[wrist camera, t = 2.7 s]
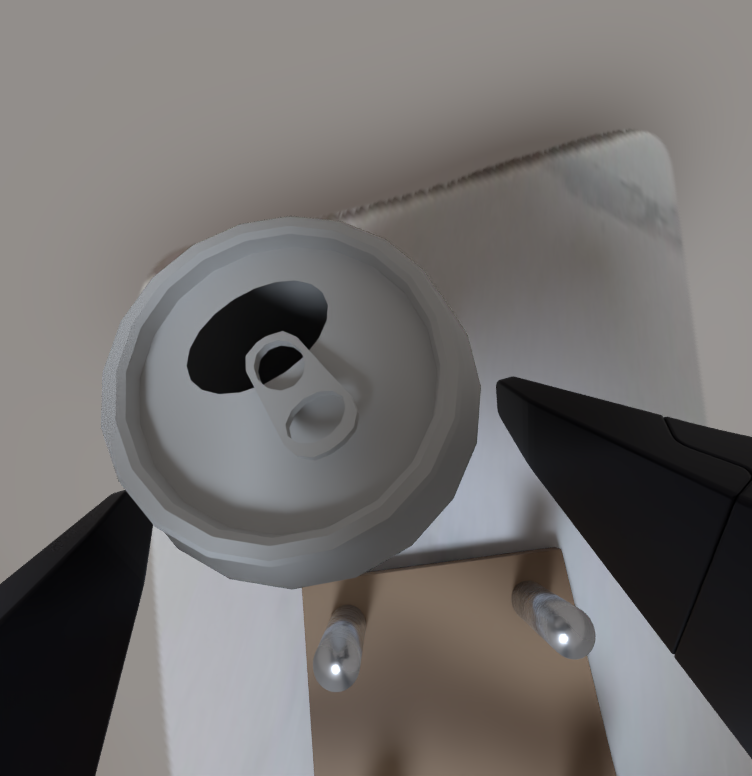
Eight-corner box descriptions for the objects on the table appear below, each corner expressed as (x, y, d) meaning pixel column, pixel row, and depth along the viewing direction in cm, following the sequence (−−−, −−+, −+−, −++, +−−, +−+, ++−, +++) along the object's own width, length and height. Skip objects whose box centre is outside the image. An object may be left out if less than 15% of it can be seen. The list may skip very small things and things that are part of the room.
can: (365, 343, 19) (332, 116, 7) (460, 462, 17) (609, 406, 6) (240, 431, 18) (-21, 325, 6) (328, 567, 16) (188, 754, 5)
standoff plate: (633, 876, 13) (738, 1040, 9) (327, 919, 13) (303, 1103, 9) (555, 546, 16) (609, 565, 12) (304, 580, 16) (278, 609, 12)
